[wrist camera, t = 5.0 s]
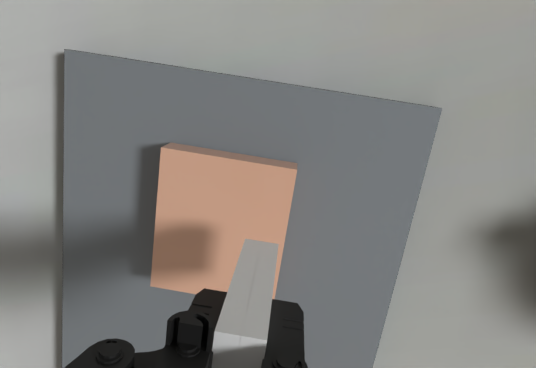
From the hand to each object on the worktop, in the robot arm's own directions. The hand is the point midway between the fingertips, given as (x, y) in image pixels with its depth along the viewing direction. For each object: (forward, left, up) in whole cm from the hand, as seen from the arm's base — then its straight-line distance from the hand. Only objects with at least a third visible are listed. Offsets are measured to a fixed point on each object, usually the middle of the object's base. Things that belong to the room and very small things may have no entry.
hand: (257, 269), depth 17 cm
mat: (+7, -2, -6) cm, 10 cm away
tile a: (0, +1, -4) cm, 4 cm away
